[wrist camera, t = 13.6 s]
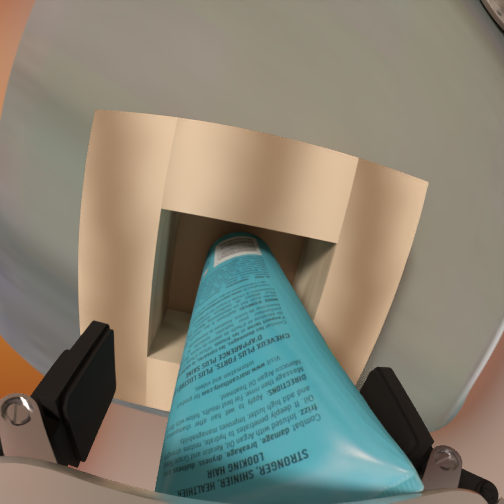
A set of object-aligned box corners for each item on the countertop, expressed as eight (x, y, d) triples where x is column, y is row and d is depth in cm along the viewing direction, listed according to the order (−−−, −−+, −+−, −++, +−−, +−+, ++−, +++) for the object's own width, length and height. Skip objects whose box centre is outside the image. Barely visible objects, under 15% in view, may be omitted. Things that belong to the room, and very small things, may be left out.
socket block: (372, 172, 22) (428, 182, 15) (312, 366, 28) (332, 428, 20) (141, 123, 21) (95, 109, 13) (119, 333, 26) (86, 389, 18)
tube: (224, 315, 24) (213, 577, 5) (180, 270, 23) (79, 531, 4) (301, 255, 23) (442, 501, 4) (259, 204, 21) (369, 445, 3)
